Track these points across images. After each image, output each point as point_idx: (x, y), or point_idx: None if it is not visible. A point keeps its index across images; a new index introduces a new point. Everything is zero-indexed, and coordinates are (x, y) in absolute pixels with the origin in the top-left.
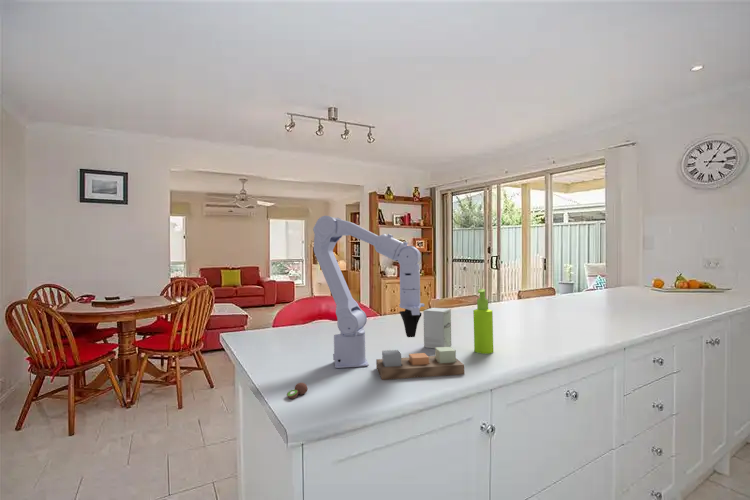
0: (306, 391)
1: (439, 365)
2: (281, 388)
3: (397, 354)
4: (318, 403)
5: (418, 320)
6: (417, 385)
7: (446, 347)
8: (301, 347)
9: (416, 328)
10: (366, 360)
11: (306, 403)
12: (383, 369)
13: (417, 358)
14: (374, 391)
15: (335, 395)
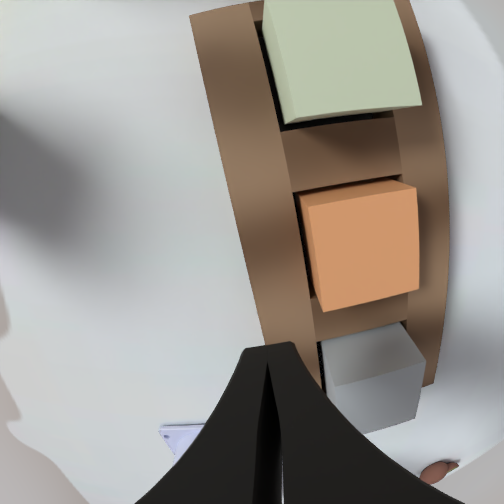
0: (441, 463)
1: (429, 126)
2: None
3: (422, 374)
4: (488, 426)
5: (407, 470)
6: (492, 241)
7: (298, 24)
8: (97, 501)
9: (320, 390)
10: (201, 428)
11: (478, 440)
12: (428, 380)
13: (417, 260)
14: (488, 358)
15: (470, 420)
